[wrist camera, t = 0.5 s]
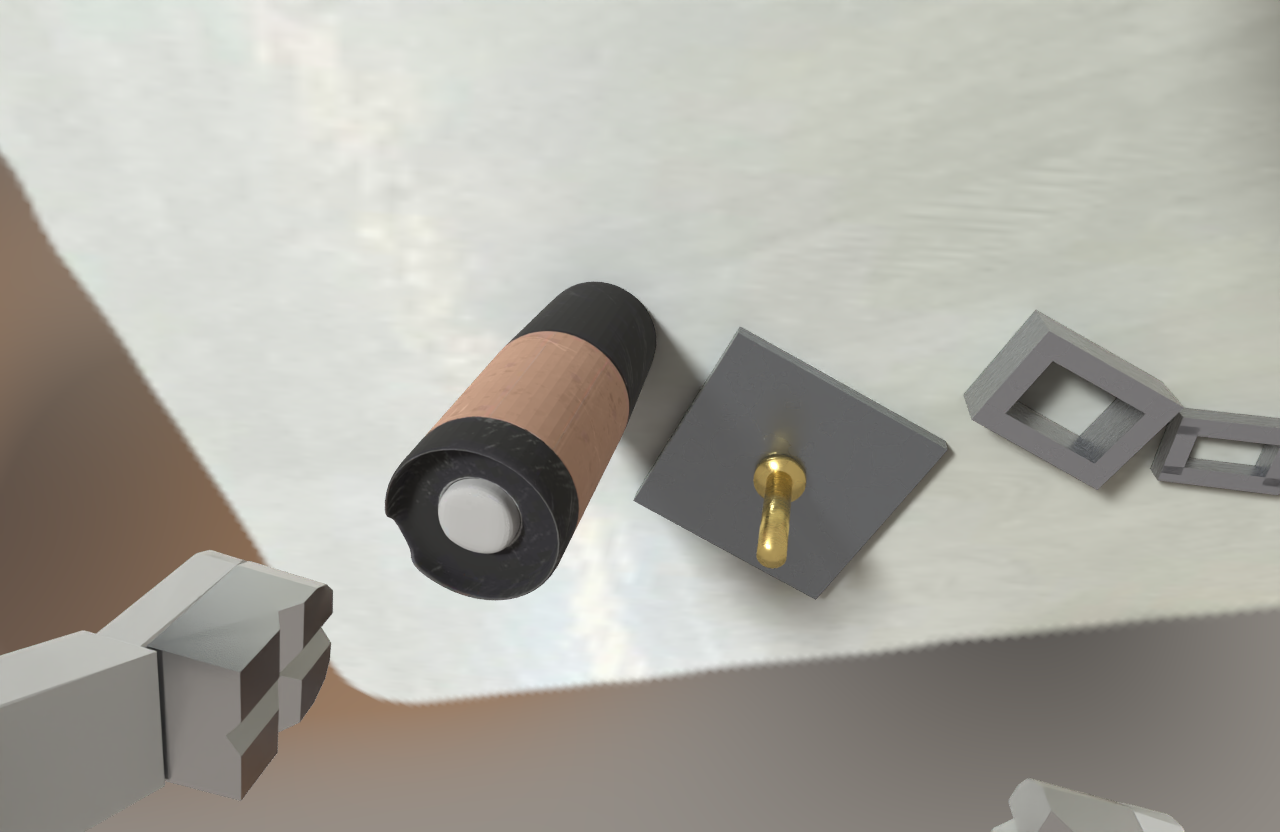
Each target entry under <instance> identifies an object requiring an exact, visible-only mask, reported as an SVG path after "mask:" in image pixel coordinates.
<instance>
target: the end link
mask: <svg viewBox="0 0 1280 832" xmlns="http://www.w3.org/2000/svg"><path fill="white" fill-rule="evenodd" d="M1052 361H1054V362H1055V363H1057V364H1059V365H1061V366H1062V367H1064V368H1066V369H1068V370H1070V371H1071V372H1073V373H1075V374H1077V375H1078V376H1080V377H1082V378H1084V379H1085V380H1087V381H1089V382H1091V383H1092V384H1094V385H1096V386H1098V387H1099V388H1101V389H1103V390H1105V391H1107V392H1108V393H1110V394H1112V395H1114V396H1115V397H1117V399H1116V400H1115V401H1114V402H1113V403H1112V404H1111V405H1110V406H1109V407H1108V408H1107V409H1106V410H1105V411H1104V412H1103V413H1102V414H1101V415H1100V416H1099V417H1098V418H1097V419H1096V420H1095V421H1094V422H1093V423H1092V424H1091V425H1090V426H1089V427H1088V428H1087V429H1086V430H1085V431H1084V432H1083V433H1082V434H1081V435H1080V436H1078V435H1076V434H1074V433H1073V432H1071V431H1069V430H1067V429H1066V428H1064V427H1062V426H1060V425H1058V424H1057V423H1055V422H1053V421H1051V420H1050V419H1048V418H1046V417H1044V416H1042V415H1041V414H1039V413H1037V412H1035V411H1034V410H1032V409H1030V408H1028V407H1027V406H1025V405H1023V404H1021V403H1019V402H1018V401H1017V400H1018V399H1019V398H1020V397H1021V396H1022V395H1023V393H1024V392H1025V391H1026V390H1027V389H1028V388H1029V387H1030V386H1031V385H1032V384H1033V382H1034V381H1035V380H1036V379H1037V378H1038V377H1039V376H1040V375H1041V374H1042V372H1043V371H1044V370H1045V369H1046V368H1047V367H1048V366H1049V365H1050V364H1051V362H1052ZM964 398H965V401H966V404H967V407H968V410H969V413H970V416H971V419H972V420H973V421H975V422H977V423H979V424H981V425H982V426H984V427H986V428H988V429H989V430H991V431H993V432H995V433H997V434H998V435H1000V436H1002V437H1004V438H1006V439H1007V440H1009V441H1011V442H1013V443H1014V444H1016V445H1018V446H1020V447H1022V448H1023V449H1025V450H1027V451H1029V452H1031V453H1032V454H1034V455H1036V456H1038V457H1039V458H1041V459H1043V460H1045V461H1047V462H1048V463H1050V464H1052V465H1054V466H1055V467H1057V468H1059V469H1061V470H1063V471H1064V472H1066V473H1068V474H1070V475H1072V476H1073V477H1075V478H1077V479H1079V480H1080V481H1082V482H1084V483H1086V484H1088V485H1089V486H1091V487H1093V488H1095V489H1096V490H1098V489H1099V488H1100V487H1101V486H1102V485H1103V484H1104V483H1105V482H1106V481H1107V480H1108V479H1109V478H1110V477H1111V476H1112V475H1113V474H1115V473H1116V472H1117V471H1118V470H1119V469H1120V468H1121V467H1122V466H1123V465H1124V464H1125V463H1126V462H1127V461H1128V460H1129V459H1130V458H1131V457H1132V456H1133V455H1135V454H1136V453H1137V452H1138V451H1139V450H1140V449H1141V448H1142V447H1143V446H1144V445H1145V444H1146V443H1147V442H1148V441H1149V440H1150V439H1151V438H1152V437H1153V436H1155V435H1156V434H1157V433H1158V432H1159V431H1160V430H1161V429H1162V428H1163V427H1164V426H1165V425H1166V424H1167V423H1168V422H1169V421H1170V420H1171V419H1172V418H1173V417H1175V416H1176V415H1177V414H1178V413H1179V412H1180V411H1181V410H1182V409H1183V408H1184V407H1183V406H1182V405H1181V403H1180V402H1179V401H1178V400H1177V399H1176V397H1175V396H1174V395H1173V394H1172V393H1171V392H1170V390H1169V389H1168V388H1167V387H1166V386H1165V384H1164V383H1163V382H1162V381H1160V380H1158V379H1156V378H1155V377H1153V376H1151V375H1149V374H1148V373H1146V372H1144V371H1142V370H1141V369H1139V368H1137V367H1135V366H1134V365H1132V364H1130V363H1128V362H1127V361H1125V360H1123V359H1121V358H1120V357H1118V356H1116V355H1114V354H1112V353H1111V352H1109V351H1107V350H1105V349H1104V348H1102V347H1100V346H1098V345H1097V344H1095V343H1093V342H1091V341H1090V340H1088V339H1086V338H1084V337H1083V336H1081V335H1079V334H1077V333H1076V332H1074V331H1072V330H1070V329H1069V328H1067V327H1065V326H1063V325H1062V324H1060V323H1058V322H1056V321H1055V320H1053V319H1051V318H1049V317H1048V316H1046V315H1044V314H1042V313H1041V312H1039V311H1037V310H1035V312H1034V313H1033V314H1032V315H1031V316H1030V317H1029V319H1028V320H1027V321H1026V322H1025V323H1024V324H1023V326H1022V327H1021V328H1020V329H1019V330H1018V331H1017V333H1016V334H1015V335H1014V336H1013V337H1012V339H1011V340H1010V341H1009V342H1008V343H1007V344H1006V346H1005V347H1004V348H1003V349H1002V350H1001V351H1000V353H999V354H998V355H997V356H996V357H995V358H994V360H993V361H992V362H991V363H990V364H989V366H988V367H987V368H986V369H985V370H984V371H983V373H982V374H981V375H980V376H979V377H978V378H977V380H976V381H975V382H974V383H973V384H972V385H971V387H970V388H969V389H968V390H967V391H966V393H965V394H964Z"/></svg>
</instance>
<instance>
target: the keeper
mask: <svg viewBox="0 0 1280 832" xmlns="http://www.w3.org/2000/svg"><path fill="white" fill-rule="evenodd" d="M946 451H947V445H946V441H944V440H942V439H941V438H939V437H937V436H935V435H933V434H932V433H930V432H928V431H926V430H924V429H923V428H921V427H919V426H917V425H915V424H914V423H912V422H910V421H908V420H907V419H905V418H903V417H901V416H899V415H898V414H896V413H894V412H892V411H890V410H889V409H887V408H885V407H883V406H881V405H880V404H878V403H876V402H874V401H873V400H871V399H869V398H867V397H865V396H864V395H862V394H860V393H858V392H856V391H855V390H853V389H851V388H849V387H847V386H846V385H844V384H842V383H840V382H838V381H837V380H835V379H833V378H831V377H830V376H828V375H826V374H824V373H822V372H821V371H819V370H817V369H815V368H813V367H812V366H810V365H808V364H806V363H804V362H803V361H801V360H799V359H797V358H795V357H794V356H792V355H790V354H788V353H787V352H785V351H783V350H781V349H779V348H778V347H776V346H774V345H772V344H770V343H769V342H767V341H765V340H763V339H761V338H760V337H758V336H756V335H754V334H752V333H751V332H749V331H747V330H745V329H744V328H742V327H739V329H738V331H737V332H736V334H735V336H734V337H733V339H732V340H731V342H730V344H729V345H728V347H727V348H726V350H725V352H724V353H723V355H722V356H721V358H720V360H719V361H718V363H717V364H716V366H715V368H714V369H713V371H712V372H711V374H710V376H709V377H708V379H707V380H706V382H705V384H704V385H703V387H702V388H701V390H700V392H699V393H698V395H697V396H696V398H695V400H694V401H693V403H692V405H691V406H690V408H689V409H688V411H687V413H686V414H685V416H684V417H683V419H682V421H681V422H680V424H679V425H678V427H677V429H676V430H675V432H674V433H673V435H672V437H671V438H670V440H669V441H668V443H667V445H666V446H665V448H664V449H663V451H662V453H661V454H660V456H659V457H658V459H657V461H656V462H655V464H654V465H653V467H652V469H651V470H650V472H649V474H648V475H647V477H646V478H645V480H644V482H643V483H642V485H641V486H640V488H639V490H638V491H637V493H636V496H635V498H634V501H635V502H637V503H639V504H641V505H642V506H644V507H646V508H648V509H650V510H652V511H653V512H655V513H657V514H659V515H661V516H663V517H664V518H666V519H668V520H670V521H672V522H674V523H676V524H677V525H679V526H681V527H683V528H685V529H687V530H688V531H690V532H692V533H694V534H696V535H698V536H699V537H701V538H703V539H705V540H707V541H709V542H711V543H712V544H714V545H716V546H718V547H720V548H722V549H723V550H725V551H727V552H729V553H731V554H733V555H734V556H736V557H738V558H740V559H742V560H744V561H746V562H747V563H749V564H751V565H753V566H755V567H757V568H758V569H760V570H762V571H764V572H766V573H768V574H769V575H771V576H773V577H775V578H777V579H779V580H781V581H782V582H784V583H786V584H788V585H790V586H792V587H793V588H795V589H797V590H799V591H801V592H803V593H804V594H806V595H808V596H810V597H812V598H814V599H817V598H818V596H819V595H820V594H821V593H822V592H823V591H824V590H825V588H826V587H827V586H828V585H829V584H830V583H831V582H832V581H833V579H834V578H835V577H836V576H837V575H838V574H839V573H840V571H841V570H842V569H843V568H844V567H845V566H846V565H847V563H848V562H849V561H850V560H851V559H852V558H853V557H854V555H855V554H856V553H857V552H858V551H859V550H860V549H861V548H862V546H863V545H864V544H865V543H866V542H867V541H868V540H869V538H870V537H871V536H872V535H873V534H874V533H875V532H876V530H877V529H878V528H879V527H880V526H881V525H882V524H883V523H884V521H885V520H886V519H887V518H888V517H889V516H890V515H891V513H892V512H893V511H894V510H895V509H896V508H897V507H898V505H899V504H900V503H901V502H902V501H903V500H904V499H905V498H906V496H907V495H908V494H909V493H910V492H911V491H912V490H913V488H914V487H915V486H916V485H917V484H918V483H919V482H920V480H921V479H922V478H923V477H924V476H925V475H926V474H927V473H928V471H929V470H930V469H931V468H932V467H933V466H934V465H935V463H936V462H937V461H938V460H939V459H940V458H941V457H942V455H943V454H944V453H945V452H946Z"/></svg>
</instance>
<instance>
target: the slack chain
mask: <svg viewBox="0 0 1280 832" xmlns="http://www.w3.org/2000/svg"><path fill="white" fill-rule="evenodd" d="M1197 436H1202V437H1210V438H1219V439H1228V440H1237V441H1245V442H1254V443H1263V444H1265V446H1264V448H1263V450H1262V452H1261V454H1260V457H1259V459H1258V461H1257V463H1256V465H1255V466H1253V465H1244V464H1236V463H1227V462H1219V461H1211V460H1202V459H1194V458H1188V457H1189V454H1190V452H1191V450H1192V447H1193V445H1194V443H1195V440H1196V438H1197ZM1150 469H1151V471H1152V472H1153V474H1154V475H1155V477H1156V478H1157V480H1159V481H1167V482H1175V483H1183V484H1191V485H1199V486H1207V487H1215V488H1224V489H1232V490H1240V491H1248V492H1256V493H1264V494H1272V495H1279V493H1280V418H1271V417H1261V416H1252V415H1243V414H1234V413H1225V412H1216V411H1206V410H1197V409H1188V408H1183V409H1182V410H1181V411H1180V412H1179V413H1178V414H1177V415H1176V416H1175V417H1173V418H1172V419H1171V420H1170V421H1169V423H1168V426H1167V428H1166V431H1165V433H1164V436H1163V438H1162V441H1161V443H1160V446H1159V448H1158V451H1157V453H1156V456H1155V458H1154V461H1153V463H1152V466H1151V468H1150Z"/></svg>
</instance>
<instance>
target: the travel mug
mask: <svg viewBox="0 0 1280 832" xmlns="http://www.w3.org/2000/svg"><path fill="white" fill-rule="evenodd" d="M655 348H656V335H655V329H654V326H653V322H652V320H651V318H650V316H649V314H648V312H647V310H646V309H645V308H644V306H643V305H642V304H641V303H640V302H639V301H638V300H637V299H636V298H635V297H634V296H633V295H631V294H630V293H629V292H627V291H625V290H624V289H622V288H620V287H618V286H615V285H612V284H608V283H603V282H586V283H581V284H577V285H575V286H572V287H570V288H568V289H566V290H565V291H563V292H562V293H561V294H559V295H558V296H557V297H556V298H555V299H554V300H553V301H552V302H550V303H549V304H548V305H547V306H546V307H545V308H544V309H543V310H542V311H541V312H540V313H539V314H538V315H537V316H536V317H535V318H534V319H533V320H532V321H531V322H530V323H529V324H528V325H527V326H526V327H525V328H524V329H523V330H521V331H520V332H519V333H518V334H517V335H516V336H515V337H514V338H513V339H512V340H511V341H510V342H509V343H508V344H507V345H506V346H505V347H504V348H503V349H502V350H501V351H500V352H499V353H498V354H497V356H496V357H495V358H494V359H493V360H492V361H491V362H490V363H489V365H488V366H487V367H486V368H485V369H484V370H483V371H482V372H481V374H480V375H479V376H478V377H477V378H476V379H475V380H474V382H473V383H472V384H471V385H470V386H469V387H468V388H467V389H466V391H465V392H464V393H463V394H462V395H461V396H460V397H459V398H458V400H457V401H456V402H455V403H454V404H453V405H452V406H451V407H450V409H449V410H448V411H447V412H446V413H445V414H444V415H443V416H442V418H441V419H440V420H439V421H438V422H437V423H436V424H435V426H434V427H433V428H432V429H431V430H430V431H429V432H428V433H427V435H426V436H425V437H424V438H423V439H422V440H421V441H420V442H419V444H418V445H417V446H416V447H415V448H414V449H413V450H412V451H411V453H410V454H409V455H408V456H407V457H406V458H405V459H404V460H403V462H402V463H401V464H400V465H399V467H398V468H397V470H396V471H395V473H394V474H393V476H392V478H391V480H390V483H389V485H388V489H387V492H386V499H385V513H386V515H387V517H390V518H392V519H393V520H394V521H395V522H396V524H397V525H398V527H399V528H400V530H401V532H402V534H403V536H404V537H405V539H406V541H407V543H408V545H409V548H410V551H411V558H412V562H413V563H414V565H415V566H416V568H417V569H418V570H419V571H421V572H422V573H423V574H424V575H425V576H427V577H428V578H430V579H431V580H433V581H434V582H436V583H438V584H439V585H441V586H443V587H445V588H447V589H449V590H451V591H454V592H456V593H459V594H462V595H465V596H468V597H473V598H477V599H484V600H507V599H512V598H517V597H520V596H523V595H526V594H528V593H530V592H532V591H534V590H535V589H537V588H538V587H540V586H541V585H542V584H544V583H545V581H546V580H547V579H548V578H549V577H550V576H551V575H552V573H553V572H554V570H555V569H556V567H557V566H558V564H559V562H560V560H561V558H562V556H563V554H564V552H565V550H566V548H567V546H568V544H569V542H570V540H571V538H572V536H573V534H574V532H575V530H576V528H577V526H578V524H579V522H580V520H581V518H582V516H583V514H584V512H585V509H586V507H587V505H588V503H589V501H590V499H591V497H592V495H593V493H594V491H595V489H596V487H597V485H598V483H599V481H600V479H601V477H602V475H603V473H604V471H605V469H606V467H607V465H608V463H609V461H610V459H611V457H612V455H613V453H614V451H615V449H616V447H617V445H618V443H619V441H620V439H621V437H622V435H623V433H624V430H625V428H626V426H627V423H628V421H629V419H630V416H631V414H632V411H633V409H634V406H635V404H636V401H637V399H638V396H639V394H640V391H641V389H642V386H643V384H644V381H645V379H646V376H647V374H648V371H649V369H650V366H651V364H652V361H653V357H654V354H655Z"/></svg>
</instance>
